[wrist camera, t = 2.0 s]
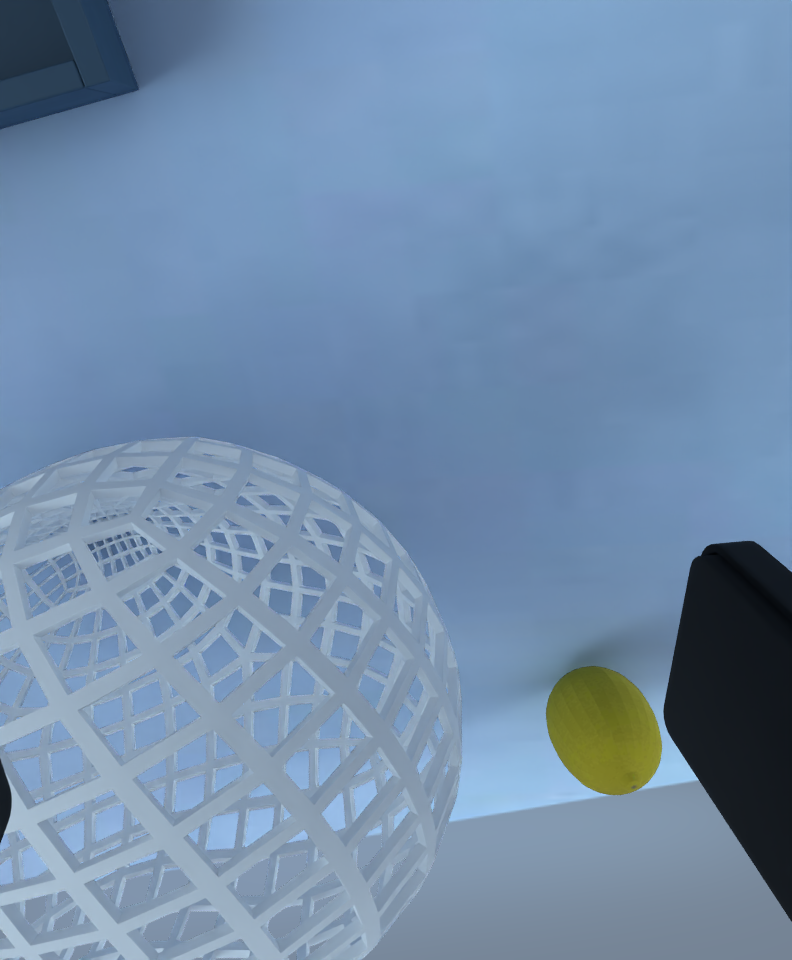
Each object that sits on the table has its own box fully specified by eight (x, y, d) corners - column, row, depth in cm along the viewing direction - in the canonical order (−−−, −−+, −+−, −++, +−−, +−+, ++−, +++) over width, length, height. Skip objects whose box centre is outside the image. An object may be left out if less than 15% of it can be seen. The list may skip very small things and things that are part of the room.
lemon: (522, 714, 43) (569, 831, 36) (536, 639, 41) (591, 747, 33) (609, 710, 44) (673, 823, 37) (629, 636, 41) (701, 741, 34)
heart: (307, 257, 30) (356, 500, 10) (432, 548, 37) (606, 1028, 17) (-292, 514, 31) (-1298, 1183, 11) (-61, 749, 38) (-434, 1420, 18)
